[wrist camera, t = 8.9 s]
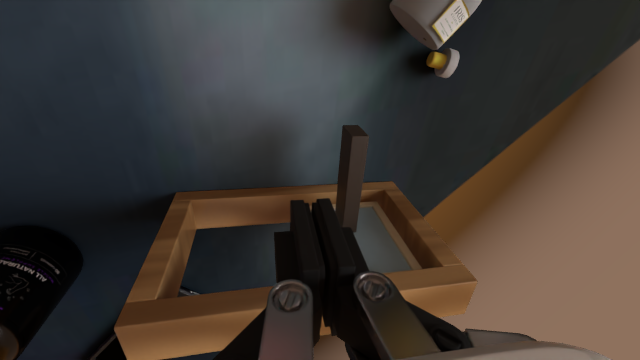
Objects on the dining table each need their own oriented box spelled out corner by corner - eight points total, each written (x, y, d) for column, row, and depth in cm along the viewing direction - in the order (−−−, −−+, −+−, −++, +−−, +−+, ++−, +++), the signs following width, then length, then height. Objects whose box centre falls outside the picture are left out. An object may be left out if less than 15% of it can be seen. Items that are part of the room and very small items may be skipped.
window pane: (292, 117, 22) (314, 172, 14) (390, 117, 24) (460, 166, 16) (292, 214, 26) (308, 299, 18) (375, 208, 28) (424, 285, 20)
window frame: (176, 192, 25) (112, 328, 14) (392, 181, 29) (478, 281, 18) (182, 220, 27) (128, 365, 15) (387, 206, 30) (464, 314, 19)
